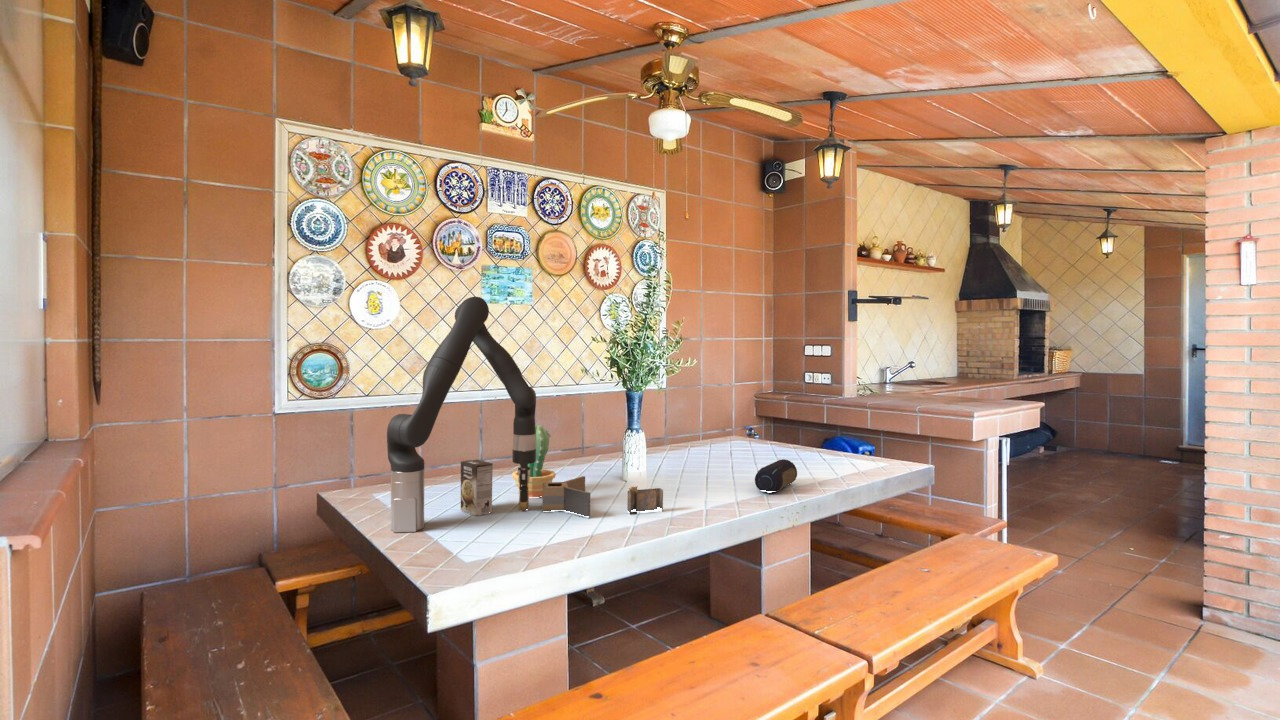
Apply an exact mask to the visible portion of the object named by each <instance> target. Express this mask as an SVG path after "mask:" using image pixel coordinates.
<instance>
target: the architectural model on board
mask: <svg viewBox="0 0 1280 720" xmlns="http://www.w3.org/2000/svg"><path fill="white" fill-rule="evenodd" d="M657 507H660V508H662V509H663V510H664V489H663V488H661V487H659V488H658V487H654V488H644V489H638V485H636V486H630V487H629V488H628V490H627V510H628V511H629V512H631V510H633V509H636V511H645V510H654V509H657Z"/></svg>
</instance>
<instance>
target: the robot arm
mask: <svg viewBox="0 0 1280 720" xmlns="http://www.w3.org/2000/svg"><path fill="white" fill-rule="evenodd" d="M489 311H490V307H489V305H488V302H487V301H486V300H485V299H484V298H482V297H480V296H470V297H467V298H466V299H464V300H463V301H462V302H460V304H459V306H457V307H456V310H455V311H454V320H455V321H454V323H453V325H452V328H451V329H450V331H449V332H448V334H447V335H446V336H445V338H444V339H443V340H442V342H441V343H440V344H439V346H437V348H436V349H435V351H434V352H433V354H432V356H431V357H430V360H429V361H428V363H427V365H426V367H425V369H424V371H423V376H422V395H421V398H420V401H419V403H418V404H417V406H416V408H415V409H414V411H413V413H412V414H410V413H409V414H408V413H399V414H396V415H394V416H393V417H392V418H390V420H389V423H388V424H387V428H386V429H387V430H386V445H387V460H388V462H389V464H390V530H391V531H393V533H414V532H415V533H416V532H417V531H420V530H421V529H424V527H425V459H424V458H423V457H422V456H421V455H420V454H419V453H418V452H417V450H416V448H419V447H422V446H423V445H424V444H425V443H426V442H427V441H428V439H429V438H430V436H431V434H432V430H433V428H434V426H435V424H436V420H437V418H438V416H439V413H440V411H441V408H442V406H443V404H444V403H445V400H446V397H447V396H448V394H449V392H450V389H451V388H452V386H453V384H454V382H455V380H456V379H457V377H458V375H459V373H460V372H461V368H462V367H463V364H464V362H465V360H466V357H467V356H468V353H469V351H470V348H471V346H472V343H474V345H475V346H476V347H477V348H478V350H479V351H480V352H481V353H482V355H483V356H484V357H485V359H486V360H487V362H488V363H489V365H490V366H491V368H492V369H493V371H494V372H495V374H496V376H497V377H498V379H499V380H500V382H501V383H502V385H503V386H504V388H505V390H506V392H507V394H508V395H509V398H510V400H511V401H512V403H513V404H514V418H513V426H512V427H513V430H512V431H513V432H512V433H513V435H512V446H511V448H512V451H511V452H512V455H511V456H512V457H511V458H512V463H514V464H516V465H517V464H519V465H520V466H519V467H517V471H518V475H519V478H518V482H519V483H520V487H519V488H518V490H519V489H520V502H527V491H528V483H529V474H530V467H528V464H529V463H530V464H531V463H534V462H535V461H536V437H535V425H536V418H535V417H536V408H537V407H536V406H537V393H536V391H535V389H534V388H533V387H531V386H529V383H527V381H526V380H525V378H524V377H523V375H522V371H521V369H520V368H519V366H518V364H517V363H516V362H515V360H514V358H513V356H512V355H511V354H510V353H509V352H508V351H507V349H505V347H503V346H502V345H501V344H500V343H499V342H498V341H497V340H496V339H495V338H494V337H493V336H492V334H491V333H490V332H489V330H488V327H487V326H486V324H485V323H486V321H487V320H488V318H489V315H490V314H489V313H490V312H489ZM522 484H526V486H522Z"/></svg>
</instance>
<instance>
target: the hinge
mask: <svg viewBox="0 0 1280 720" xmlns="http://www.w3.org/2000/svg"><path fill="white" fill-rule="evenodd" d="M541 499H542V500H541V501H542V503H541V504H542V509H541V511H542V510H543V511H551V510H566V511H570V512H574V513H577V514H581V515H584V516H590V517H591V492H589V491H586V476H583V475H582V476H578V477H575V478H571V479H568V480H565V481H552V482H543V495H542V498H541Z"/></svg>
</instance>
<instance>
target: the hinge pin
mask: <svg viewBox="0 0 1280 720" xmlns="http://www.w3.org/2000/svg"><path fill="white" fill-rule="evenodd" d="M518 478H519V477H518ZM529 479H530V477H529ZM522 486H526V484H522ZM519 487H520V483H519ZM518 490H519V491H518V492H519V493H518V498H519V499H518V510H526V509H528V510H529V505H530V504H529V503H530V502H529V500H530V499H529V483H528V491H527V502H520V489H519V488H518Z"/></svg>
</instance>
